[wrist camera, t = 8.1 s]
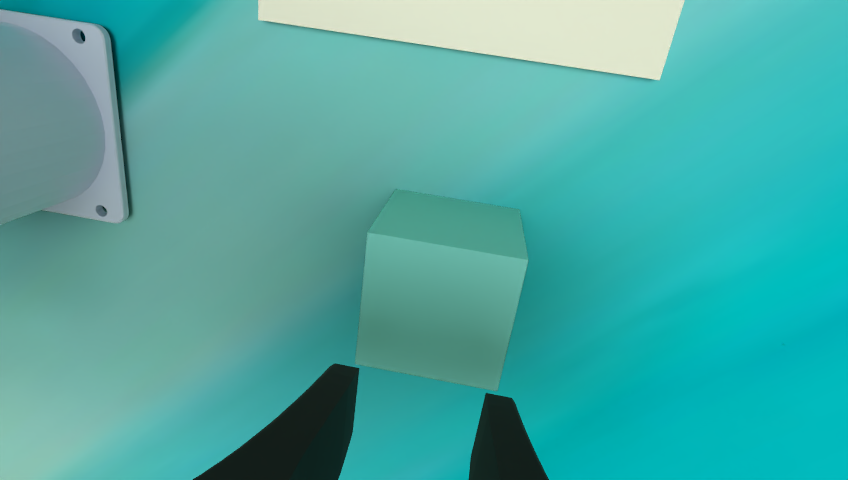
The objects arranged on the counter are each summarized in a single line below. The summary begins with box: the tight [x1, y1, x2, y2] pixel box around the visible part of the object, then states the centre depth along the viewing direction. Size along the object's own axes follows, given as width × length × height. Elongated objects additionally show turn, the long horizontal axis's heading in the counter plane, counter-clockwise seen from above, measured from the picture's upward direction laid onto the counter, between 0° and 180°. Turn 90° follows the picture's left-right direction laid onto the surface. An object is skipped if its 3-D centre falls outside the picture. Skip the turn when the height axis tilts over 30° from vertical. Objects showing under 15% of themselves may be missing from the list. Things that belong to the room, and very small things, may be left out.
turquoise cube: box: [355, 189, 528, 391], centre depth 18 cm, size 5×5×5 cm
